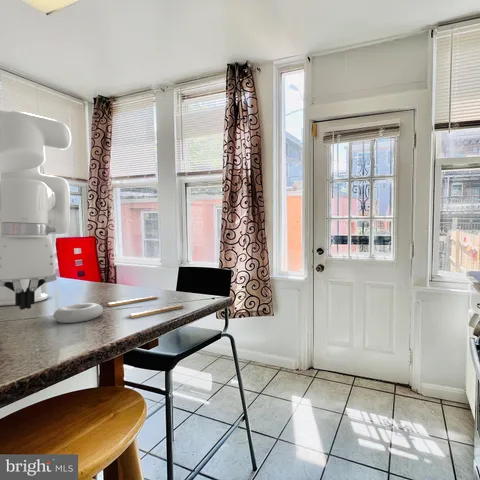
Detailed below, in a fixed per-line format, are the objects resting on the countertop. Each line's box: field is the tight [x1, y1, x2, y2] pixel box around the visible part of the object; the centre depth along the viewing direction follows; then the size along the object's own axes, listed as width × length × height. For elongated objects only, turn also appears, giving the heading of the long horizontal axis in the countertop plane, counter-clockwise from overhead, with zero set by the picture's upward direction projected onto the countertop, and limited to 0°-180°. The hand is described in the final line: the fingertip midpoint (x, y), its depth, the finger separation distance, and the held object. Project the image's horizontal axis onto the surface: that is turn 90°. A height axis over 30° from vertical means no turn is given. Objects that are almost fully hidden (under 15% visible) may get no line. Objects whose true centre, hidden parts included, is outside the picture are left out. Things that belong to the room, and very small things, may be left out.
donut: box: [53, 302, 104, 324], centre depth 73 cm, size 10×4×10 cm
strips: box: [107, 295, 184, 319], centre depth 86 cm, size 20×14×1 cm
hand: (25, 308), depth 64 cm, fingers closed
